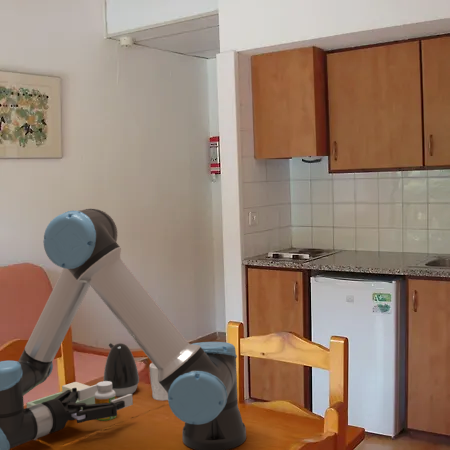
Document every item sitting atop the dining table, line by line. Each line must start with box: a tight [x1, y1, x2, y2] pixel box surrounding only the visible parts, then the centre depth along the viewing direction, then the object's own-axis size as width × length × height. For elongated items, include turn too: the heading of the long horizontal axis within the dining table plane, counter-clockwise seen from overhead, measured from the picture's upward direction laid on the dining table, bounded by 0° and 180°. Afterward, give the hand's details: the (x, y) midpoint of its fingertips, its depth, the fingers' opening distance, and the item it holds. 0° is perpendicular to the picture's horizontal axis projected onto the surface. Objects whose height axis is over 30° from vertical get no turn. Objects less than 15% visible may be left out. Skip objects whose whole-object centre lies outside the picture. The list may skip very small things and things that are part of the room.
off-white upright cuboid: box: [61, 381, 90, 401], centre depth 176 cm, size 7×4×5 cm, turn 49°
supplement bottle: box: [95, 381, 118, 422], centre depth 165 cm, size 5×5×10 cm
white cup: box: [149, 362, 168, 401], centre depth 179 cm, size 8×8×10 cm
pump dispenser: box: [103, 342, 140, 397], centre depth 184 cm, size 10×10×15 cm
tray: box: [26, 391, 95, 410], centre depth 173 cm, size 11×16×4 cm
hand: (114, 393), depth 167 cm, fingers open, 13 cm apart
